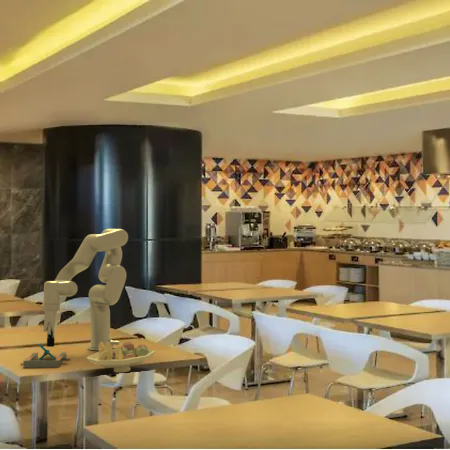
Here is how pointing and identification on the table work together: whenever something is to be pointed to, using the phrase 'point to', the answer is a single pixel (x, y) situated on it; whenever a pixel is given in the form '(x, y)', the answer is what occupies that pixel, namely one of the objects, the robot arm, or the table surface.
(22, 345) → the table surface
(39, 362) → the rail
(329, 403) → the table surface
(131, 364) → the dish with food
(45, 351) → the gear
